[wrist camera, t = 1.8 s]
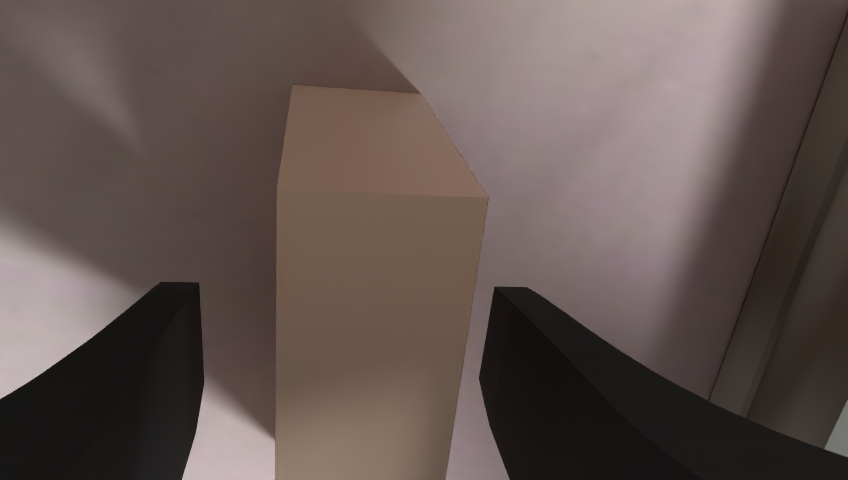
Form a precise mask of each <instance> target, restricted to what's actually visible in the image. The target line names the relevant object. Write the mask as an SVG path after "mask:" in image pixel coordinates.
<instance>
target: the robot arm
mask: <svg viewBox="0 0 848 480" xmlns="http://www.w3.org/2000/svg"><path fill="white" fill-rule="evenodd" d="M479 380H480V385H481V390H482V395H483V399H484V404H485V408H486V412H487V416H488V420H489V425H490V428H491V430H492V433H493V436H494V439H495V441H496V444H497V447H498V449H499V452H500V455H501V457H502V460H503V463H504V465H505V468H506V470H507V473H508V476H509V478H510V480H848V457H845V456H843V455H840V454H837V453H834V452H831V451H828V450H825V449H822V448H820V447H817V446H814V445H811V444H808V443H805V442H803V441H800V440H798V439H795V438H792V437H790V436H787V435H785V434H782V433H779V432H777V431H774V430H772V429H769V428H767V427H765V426H763V425H760V424H758V423H756V422H753V421H751V420H749V419H746V418H744V417H742V416H739V415H737V414H735V413H732V412H730V411H728V410H726V409H724V408H722V407H720V406H717V405H715V404H713V403H711V402H709V401H707V400H705V399H703V398H701V397H699V396H697V395H696V394H694V393H692V392H690V391H688V390H686V389H684V388H682V387H680V386H678V385H676V384H674V383H673V382H671V381H669V380H667V379H665V378H664V377H662V376H660V375H658V374H657V373H655V372H653V371H652V370H650V369H648V368H647V367H645V366H644V365H642V364H640V363H639V362H637V361H635V360H634V359H632V358H631V357H629V356H627V355H626V354H624V353H623V352H621V351H620V350H618V349H617V348H615V347H614V346H612V345H611V344H609V343H608V342H606V341H605V340H603V339H602V338H600V337H599V336H597V335H596V334H594V333H593V332H592V331H590V330H589V329H587V328H586V327H584V326H583V325H582V324H580V323H579V322H577V321H576V320H575V319H573V318H572V317H570V316H569V315H568V314H566V313H565V312H563V311H562V310H561V309H559V308H558V307H556V306H555V305H554V304H552V303H551V302H549V301H548V300H546V299H545V298H543V297H542V296H540V295H539V294H537V293H536V292H534V291H532V290H531V289H529V288H527V287H494V293H493V299H492V305H491V310H490V316H489V322H488V328H487V334H486V340H485V346H484V352H483V358H482V364H481V370H480V376H479ZM203 386H204V368H203V349H202V329H201V310H200V291H199V283H192V282H160V283H159V284H158V285H156V286H155V287H154V288H153V289H151V290H150V291H149V292H148V293H147V294H145V295H144V296H143V297H142V298H141V299H139V300H138V301H137V302H136V303H135V304H133V305H132V306H131V307H130V308H128V309H127V310H126V311H125V312H124V313H122V314H121V315H120V316H119V317H117V318H116V319H115V320H114V321H112V322H111V323H110V324H109V325H107V326H106V327H105V328H104V329H102V330H101V331H100V332H99V333H97V334H96V335H95V336H94V337H92V338H91V339H90V340H88V341H87V342H86V343H84V344H83V345H81V346H80V347H78V348H77V349H76V350H74V351H73V352H71V353H70V354H69V355H67V356H66V357H64V358H63V359H62V360H60V361H59V362H57V363H56V364H55V365H53V366H52V367H50V368H49V369H47V370H46V371H45V372H43V373H42V374H40V375H39V376H37V377H36V378H34V379H33V380H31V381H30V382H28V383H26V384H25V385H23V386H22V387H20V388H18V389H17V390H15V391H13V392H12V393H10V394H8V395H7V396H5V397H3V398H1V399H0V480H182V477H183V474H184V470H185V467H186V464H187V460H188V457H189V454H190V451H191V447H192V444H193V440H194V437H195V434H196V428H197V423H198V417H199V411H200V405H201V399H202V393H203Z"/></svg>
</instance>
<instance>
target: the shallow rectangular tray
mask: <svg viewBox="0 0 848 480" xmlns="http://www.w3.org/2000/svg"><path fill="white" fill-rule="evenodd" d="M709 402H711V403H713V404H715V405H717V406H720V407H722V408H724V409H726V410H728V411H730V412H732V413H735V414H737V415H739V416H742V417H744V418H746V419H749V420H751V421H753V422H756V423H758V424H760V425H763V426H765V427H767V428H769V429H772V430H774V431H777V432H779V433H782V434H785V435H787V436H790V437H792V438H795V439H798V440H800V441H803V442H805V443H808V444H811V445H814V446H817V447H820V448H822V449H825V450H828V451H831V452H834V453H837V454H840V455H843V456H845V457H848V16H847V19H846V22H845V25H844V27H843V30H842V33H841V36H840V39H839V41H838V44H837V47H836V50H835V52H834V55H833V58H832V61H831V64H830V66H829V69H828V72H827V75H826V77H825V80H824V83H823V86H822V89H821V91H820V94H819V97H818V100H817V102H816V105H815V108H814V111H813V114H812V116H811V119H810V122H809V125H808V127H807V130H806V133H805V136H804V139H803V141H802V144H801V147H800V150H799V152H798V155H797V158H796V161H795V163H794V166H793V169H792V172H791V175H790V177H789V180H788V183H787V186H786V188H785V191H784V194H783V197H782V200H781V202H780V205H779V208H778V211H777V213H776V216H775V219H774V222H773V225H772V227H771V230H770V233H769V236H768V238H767V241H766V244H765V247H764V250H763V252H762V255H761V258H760V261H759V263H758V266H757V269H756V272H755V275H754V277H753V280H752V283H751V286H750V288H749V291H748V294H747V297H746V300H745V302H744V305H743V308H742V311H741V313H740V316H739V319H738V322H737V325H736V327H735V330H734V333H733V336H732V338H731V341H730V344H729V347H728V350H727V352H726V355H725V358H724V361H723V363H722V366H721V369H720V372H719V375H718V377H717V380H716V383H715V386H714V388H713V391H712V394H711V397H710V400H709Z"/></svg>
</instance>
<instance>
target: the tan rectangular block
mask: <svg viewBox="0 0 848 480" xmlns="http://www.w3.org/2000/svg"><path fill="white" fill-rule="evenodd" d="M488 199H489V197H488V196H487V194H486V193H485V191H484V190H483V188H482V186H481V185H480V183H479V182H478V180H477V179H476V177H475V176H474V174H473V173H472V171H471V170H470V168H469V166H468V165H467V163H466V162H465V160H464V159H463V157H462V156H461V154H460V153H459V151H458V150H457V148H456V146H455V145H454V143H453V142H452V140H451V139H450V137H449V136H448V134H447V133H446V131H445V130H444V128H443V126H442V125H441V123H440V122H439V120H438V119H437V117H436V116H435V114H434V113H433V111H432V110H431V108H430V106H429V105H428V103H427V102H426V100H425V99H424V97H423V96H422V94H420V93H405V92H391V91H376V90H362V89H347V88H333V87H318V86H304V85H292V91H291V97H290V104H289V111H288V117H287V124H286V131H285V137H284V144H283V151H282V157H281V164H280V171H279V177H278V184H277V238H276V415H275V480H445V479H446V472H447V466H448V459H449V453H450V446H451V439H452V433H453V426H454V420H455V413H456V407H457V400H458V394H459V387H460V381H461V374H462V368H463V361H464V355H465V348H466V342H467V335H468V329H469V322H470V316H471V309H472V303H473V296H474V290H475V283H476V277H477V270H478V264H479V257H480V251H481V244H482V238H483V231H484V225H485V218H486V212H487V205H488Z"/></svg>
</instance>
